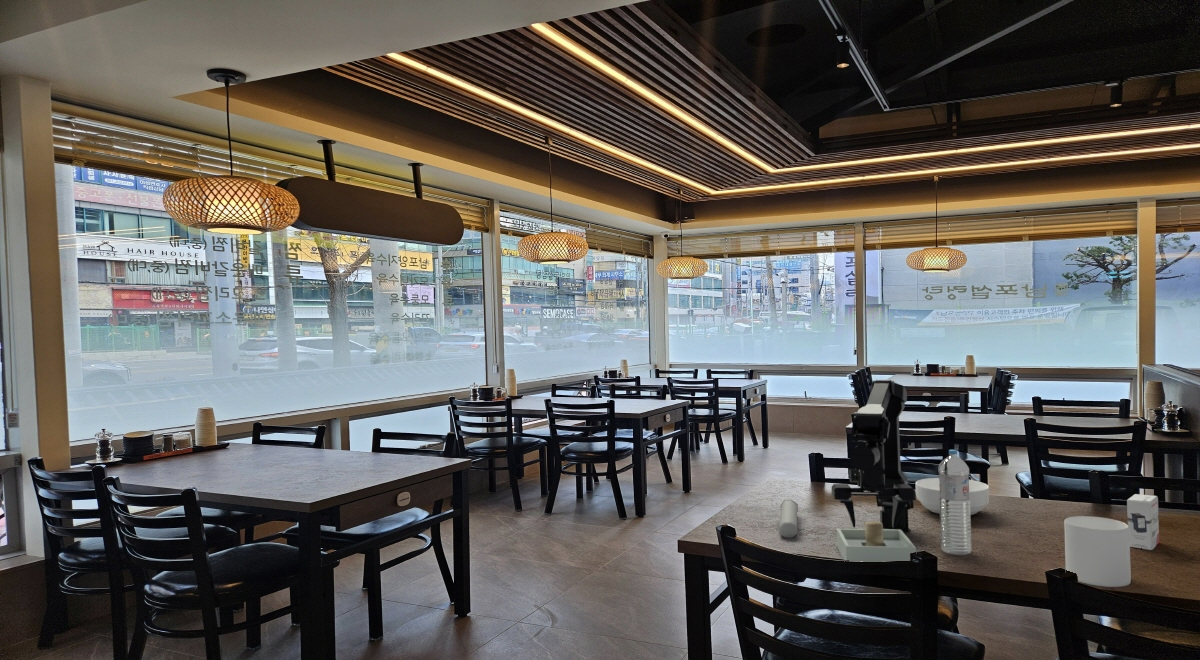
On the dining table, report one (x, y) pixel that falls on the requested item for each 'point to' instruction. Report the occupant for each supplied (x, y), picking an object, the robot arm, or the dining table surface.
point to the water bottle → (954, 505)
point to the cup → (1098, 550)
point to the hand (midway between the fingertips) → (873, 527)
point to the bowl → (931, 493)
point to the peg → (874, 533)
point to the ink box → (1143, 521)
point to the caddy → (856, 549)
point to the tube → (788, 518)
